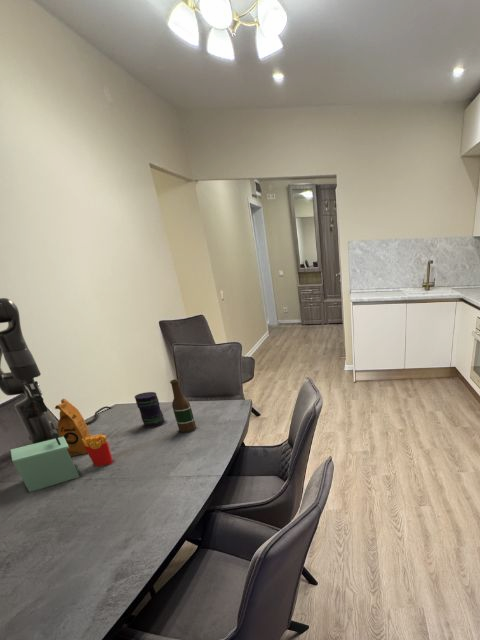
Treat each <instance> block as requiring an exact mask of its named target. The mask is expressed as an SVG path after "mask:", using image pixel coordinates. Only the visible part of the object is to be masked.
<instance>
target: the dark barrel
mask: <svg viewBox="0 0 480 640" xmlns="http://www.w3.org/2000/svg"><path fill="white" fill-rule="evenodd" d="M134 400H135V402H136V407H137V408H138V410H139V413H140V417H141V421H142V423H143V426H144V427H145V428H156V427H159V426H162V425H164V424H165V423H166V422H165V417H164V414H163V411H162V409H161V407H160V401H159V397H158V395H157V392H155V391H148V392H147V391H145V392H142V393H137V394H136V395H134Z"/></svg>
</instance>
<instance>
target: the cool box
mask: <svg viewBox="0 0 480 640" xmlns="http://www.w3.org/2000/svg"><path fill="white" fill-rule="evenodd" d="M13 465H14V467H15V468H16V470H17V472H18V474H19V476H20V477H21V480H22V481H23V483H24V485H25V487H26V489H27V490H28V492H29V493H30V492H34V491H38V490H40V489H41V490H42V489H44V488H47V487H50V486H54V485H57V484H60V483H64V482H67V481H70V480H74V479H77V478H80V475H79V472H78V471H77V468H76V466H75V464H74V461H73V460H72V456H71V455H69V453H68V451H67V449H64V450H60V451H56V452H52V453H49V454H45V455H41V456H37V457H33V458H29V459H26V460H22V461H18V462H14V463H13Z"/></svg>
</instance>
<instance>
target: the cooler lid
mask: <svg viewBox="0 0 480 640" xmlns="http://www.w3.org/2000/svg"><path fill="white" fill-rule="evenodd" d="M50 432H51V435H52V437H53V438H56V439H52V440H48V441H44V442H40V443H35V444H33V443H32V444H28V445H23V446H20V447H15V448H12V449H10V457H11V461H12V463H13V464H14V462H18V461H22V460H26V459H29V458H33V457H37V456H41V455H45V454H49V453H52V452H56V451H60V450H64V449H68V448H69V446H68V444H67V442H66V440H65V438H64V437H60V435H59V434H58V432H57V430H55V429H52V430H51V431H50ZM58 437H59V438H58Z"/></svg>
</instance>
